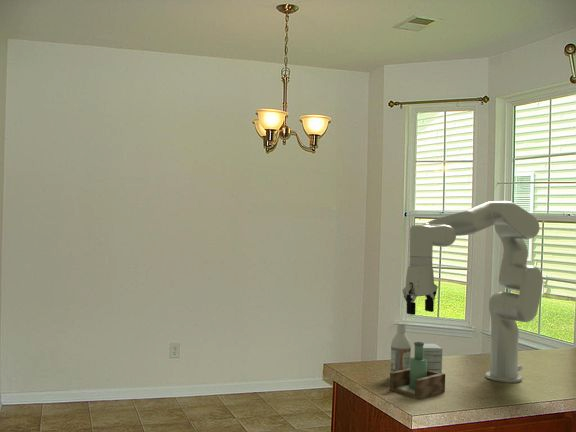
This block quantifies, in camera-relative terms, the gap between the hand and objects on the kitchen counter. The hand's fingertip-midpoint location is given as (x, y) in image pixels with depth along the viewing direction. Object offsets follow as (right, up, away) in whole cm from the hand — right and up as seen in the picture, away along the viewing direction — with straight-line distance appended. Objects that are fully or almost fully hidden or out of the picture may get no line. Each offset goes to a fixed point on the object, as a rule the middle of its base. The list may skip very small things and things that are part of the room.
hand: (420, 312), depth 204 cm
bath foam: (-4, -26, +16) cm, 31 cm away
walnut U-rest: (-1, -26, 0) cm, 26 cm away
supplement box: (+6, -27, +13) cm, 30 cm away
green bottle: (-1, -25, 0) cm, 25 cm away
